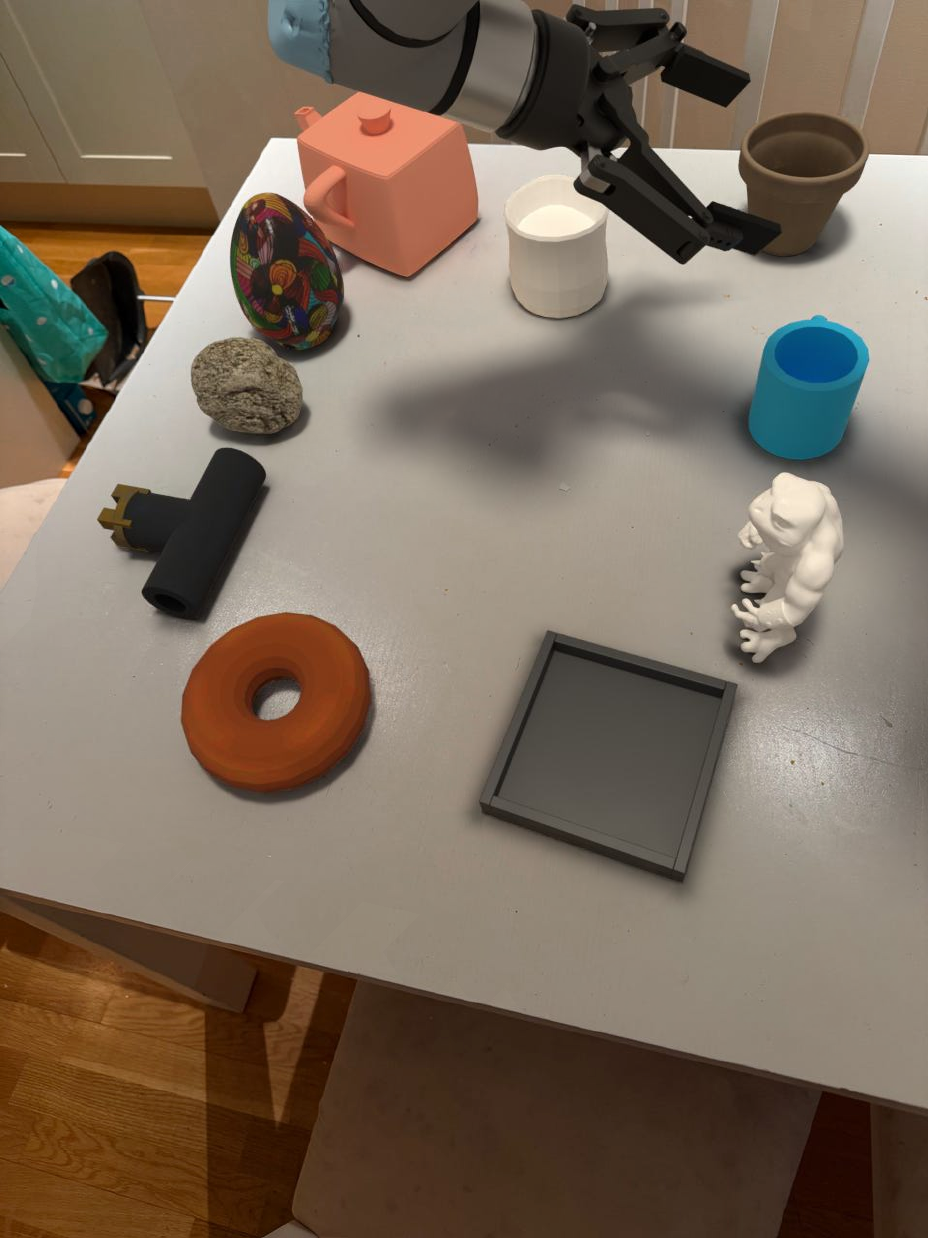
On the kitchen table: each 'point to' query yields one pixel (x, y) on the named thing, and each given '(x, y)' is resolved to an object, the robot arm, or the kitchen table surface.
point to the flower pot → (800, 172)
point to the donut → (294, 741)
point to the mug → (807, 388)
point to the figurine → (788, 559)
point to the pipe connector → (187, 529)
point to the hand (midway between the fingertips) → (752, 163)
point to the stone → (246, 386)
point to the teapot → (387, 180)
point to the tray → (611, 753)
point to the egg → (285, 272)
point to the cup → (556, 247)
